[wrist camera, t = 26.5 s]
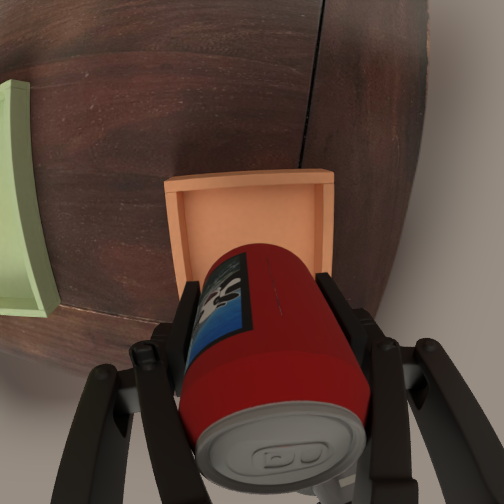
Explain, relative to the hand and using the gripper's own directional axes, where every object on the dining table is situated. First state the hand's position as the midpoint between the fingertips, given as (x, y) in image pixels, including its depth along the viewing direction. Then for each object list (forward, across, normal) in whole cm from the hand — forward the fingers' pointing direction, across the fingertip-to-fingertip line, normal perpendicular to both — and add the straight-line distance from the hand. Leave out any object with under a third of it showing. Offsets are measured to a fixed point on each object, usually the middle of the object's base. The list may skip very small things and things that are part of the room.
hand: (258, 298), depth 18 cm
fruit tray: (+8, -29, +7) cm, 31 cm away
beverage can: (+1, 0, 0) cm, 1 cm away
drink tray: (+8, 0, 0) cm, 8 cm away
